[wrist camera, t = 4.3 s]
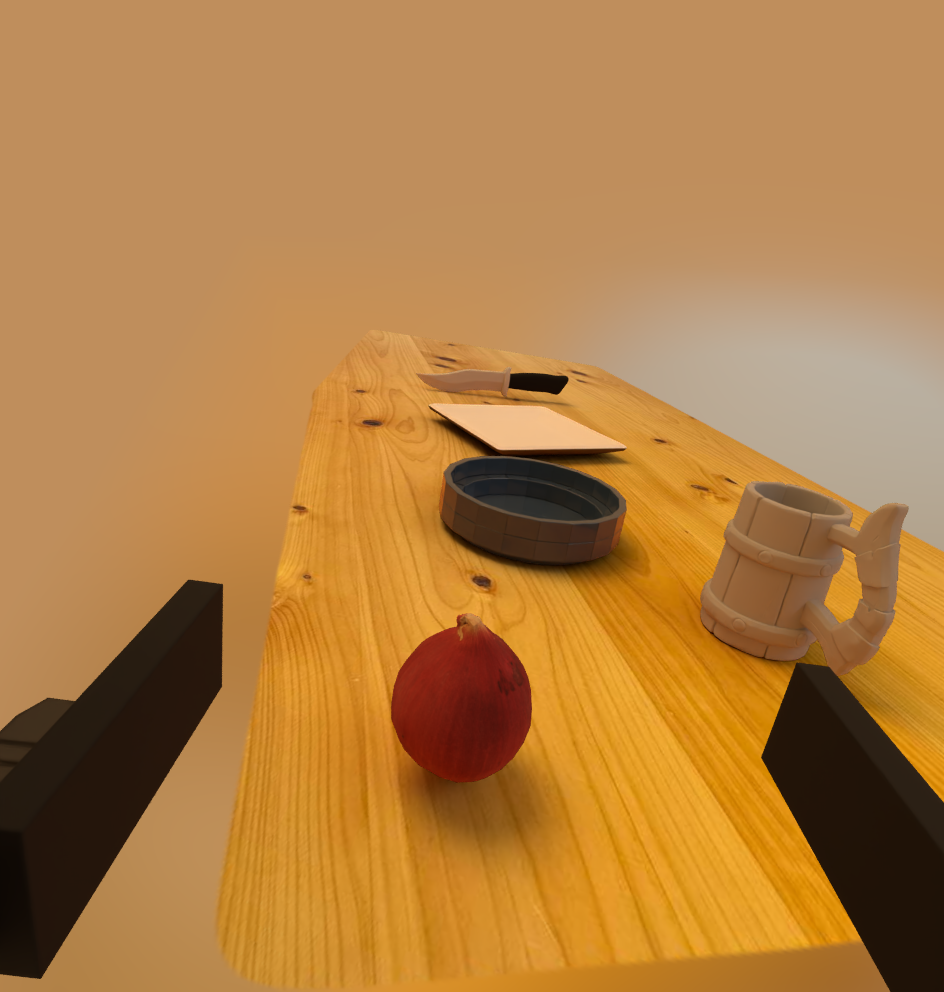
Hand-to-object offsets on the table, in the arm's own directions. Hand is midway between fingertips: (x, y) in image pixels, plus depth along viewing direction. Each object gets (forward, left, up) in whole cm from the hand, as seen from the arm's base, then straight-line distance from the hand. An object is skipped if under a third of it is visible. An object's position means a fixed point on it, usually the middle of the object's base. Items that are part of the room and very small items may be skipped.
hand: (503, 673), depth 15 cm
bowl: (-2, +39, -12) cm, 41 cm away
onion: (-2, +10, -13) cm, 16 cm away
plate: (-6, +68, -13) cm, 69 cm away
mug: (+16, +28, -13) cm, 34 cm away
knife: (-14, +91, -13) cm, 93 cm away
